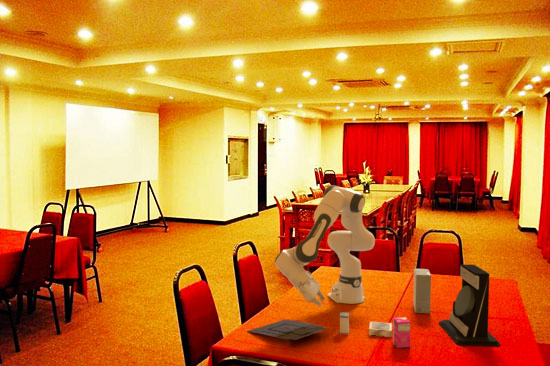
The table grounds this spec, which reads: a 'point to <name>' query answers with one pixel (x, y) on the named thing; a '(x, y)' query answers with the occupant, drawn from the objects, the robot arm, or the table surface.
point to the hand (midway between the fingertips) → (322, 302)
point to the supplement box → (401, 332)
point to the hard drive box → (422, 291)
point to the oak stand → (380, 329)
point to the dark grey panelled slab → (289, 329)
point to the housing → (344, 323)
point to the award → (471, 310)
